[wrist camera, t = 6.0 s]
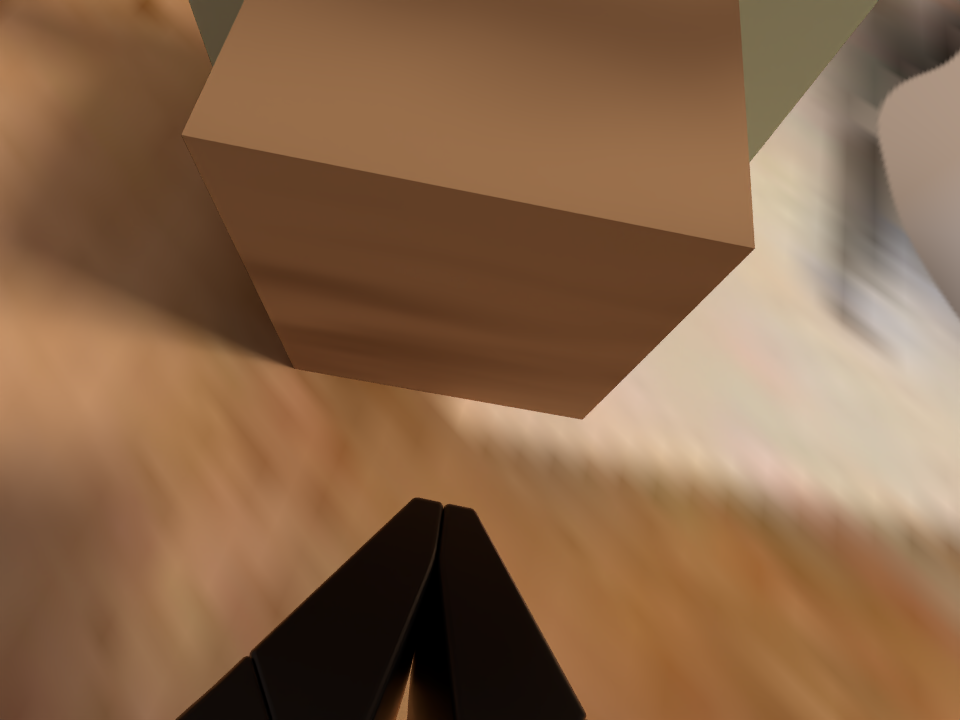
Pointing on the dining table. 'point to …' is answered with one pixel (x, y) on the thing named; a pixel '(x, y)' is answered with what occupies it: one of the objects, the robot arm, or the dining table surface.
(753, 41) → the stop board
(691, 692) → the dining table surface
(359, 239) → the walnut block
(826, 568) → the dining table surface
